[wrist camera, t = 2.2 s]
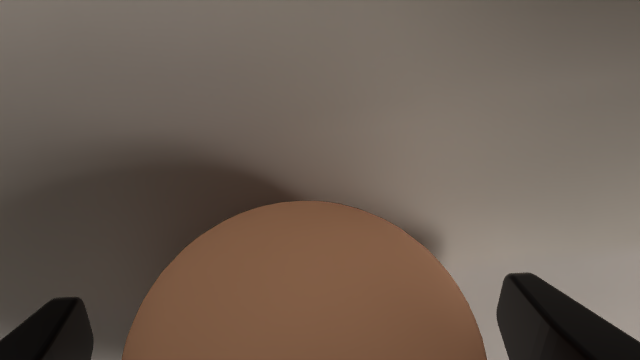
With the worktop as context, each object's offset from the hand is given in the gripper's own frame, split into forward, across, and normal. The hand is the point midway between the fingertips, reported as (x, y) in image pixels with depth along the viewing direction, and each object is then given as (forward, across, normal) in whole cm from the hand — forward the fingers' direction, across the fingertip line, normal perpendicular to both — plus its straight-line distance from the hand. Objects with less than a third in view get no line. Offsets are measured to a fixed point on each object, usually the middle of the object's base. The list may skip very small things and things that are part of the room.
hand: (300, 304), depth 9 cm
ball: (+1, 0, 0) cm, 1 cm away
